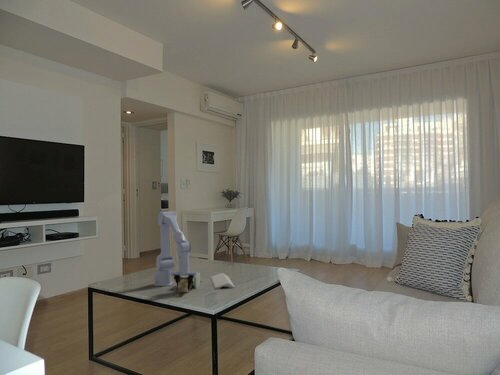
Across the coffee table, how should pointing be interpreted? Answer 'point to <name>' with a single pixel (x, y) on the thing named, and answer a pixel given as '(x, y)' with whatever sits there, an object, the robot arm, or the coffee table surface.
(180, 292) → the rail
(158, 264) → the robot arm
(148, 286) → the coffee table surface
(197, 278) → the tunnel
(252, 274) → the coffee table surface
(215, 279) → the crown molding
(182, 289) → the brown rectangular box
